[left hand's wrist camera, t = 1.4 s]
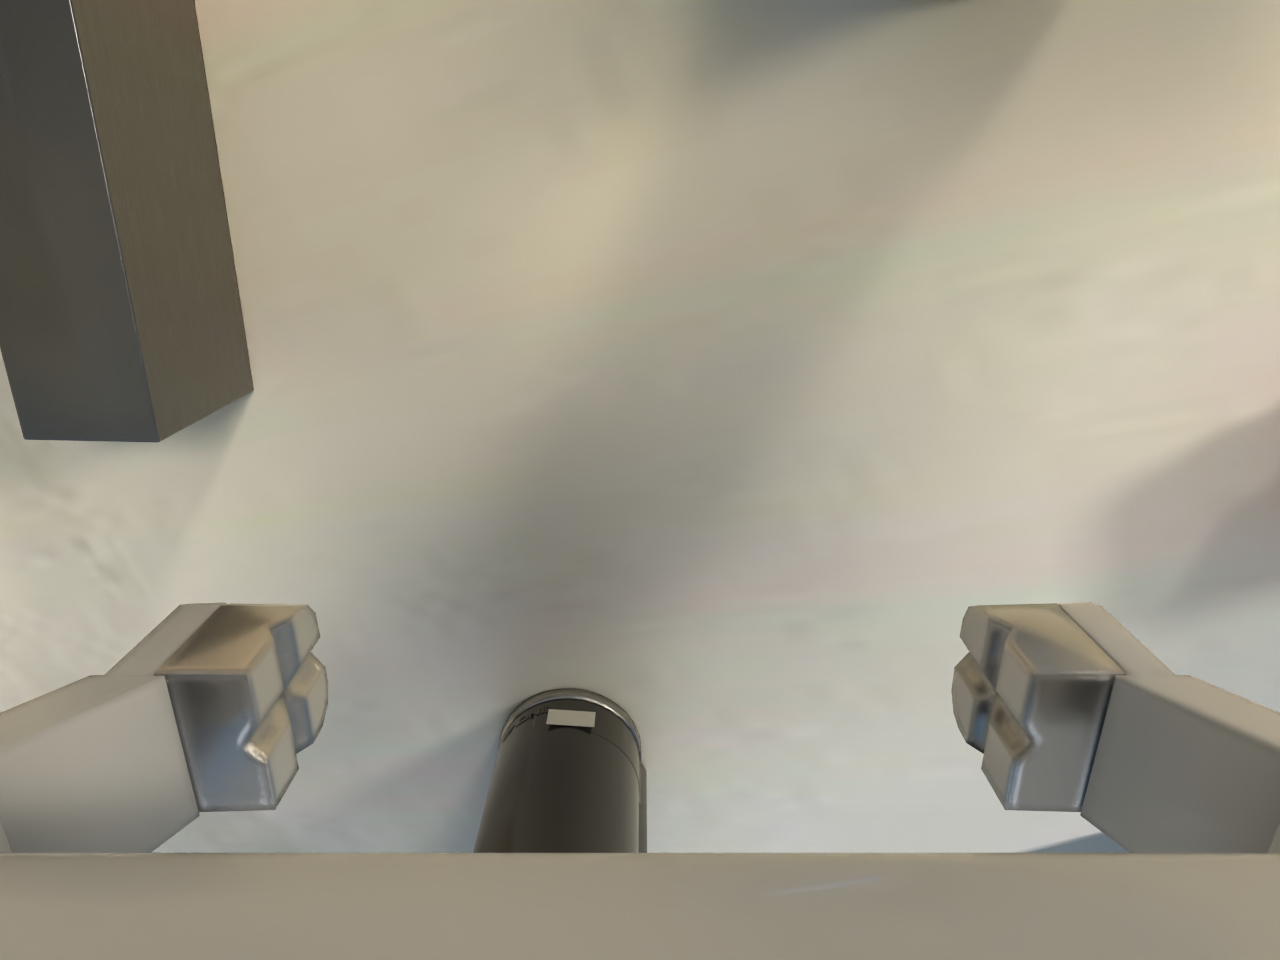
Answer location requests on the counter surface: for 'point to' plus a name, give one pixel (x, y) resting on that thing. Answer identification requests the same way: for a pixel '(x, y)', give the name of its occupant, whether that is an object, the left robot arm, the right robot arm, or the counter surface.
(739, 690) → the counter surface
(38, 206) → the box
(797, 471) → the counter surface
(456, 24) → the counter surface
